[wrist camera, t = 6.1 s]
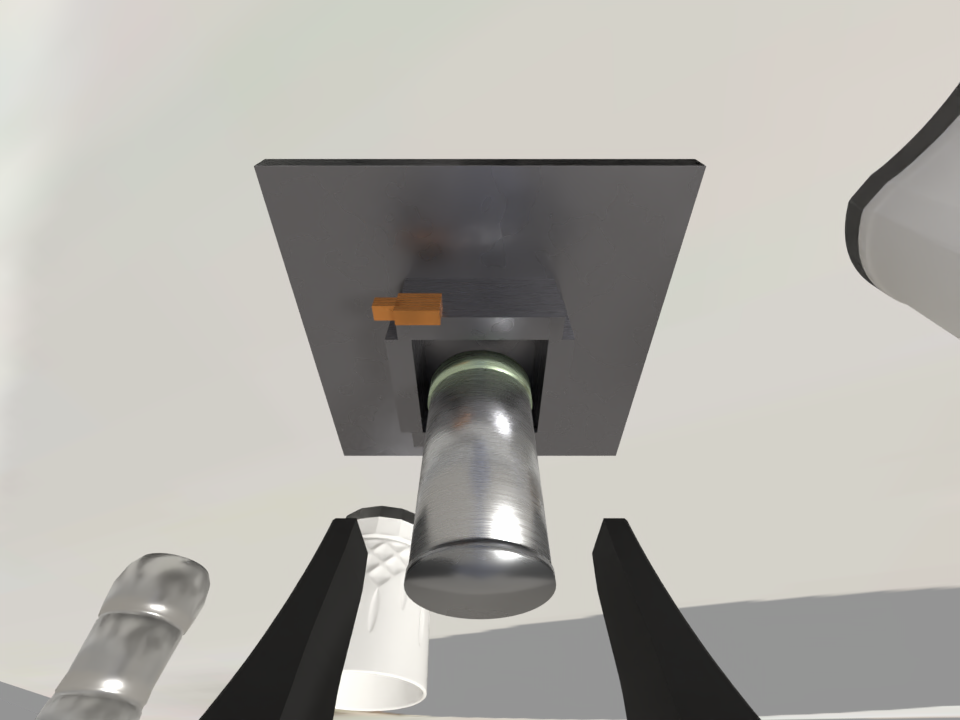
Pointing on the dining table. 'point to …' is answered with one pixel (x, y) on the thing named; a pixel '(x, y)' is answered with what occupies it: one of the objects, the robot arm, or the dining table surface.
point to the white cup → (386, 622)
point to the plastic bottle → (131, 640)
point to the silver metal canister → (479, 495)
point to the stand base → (479, 283)
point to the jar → (914, 221)
